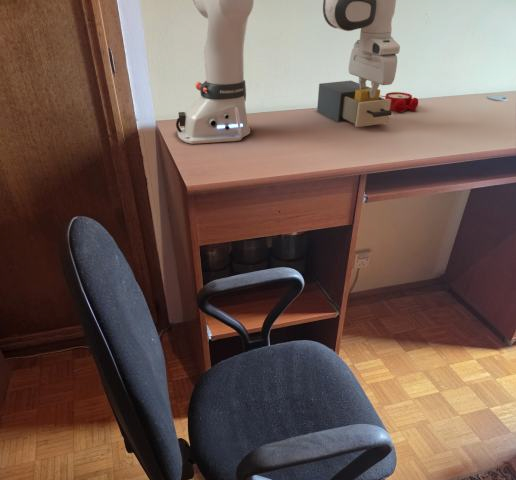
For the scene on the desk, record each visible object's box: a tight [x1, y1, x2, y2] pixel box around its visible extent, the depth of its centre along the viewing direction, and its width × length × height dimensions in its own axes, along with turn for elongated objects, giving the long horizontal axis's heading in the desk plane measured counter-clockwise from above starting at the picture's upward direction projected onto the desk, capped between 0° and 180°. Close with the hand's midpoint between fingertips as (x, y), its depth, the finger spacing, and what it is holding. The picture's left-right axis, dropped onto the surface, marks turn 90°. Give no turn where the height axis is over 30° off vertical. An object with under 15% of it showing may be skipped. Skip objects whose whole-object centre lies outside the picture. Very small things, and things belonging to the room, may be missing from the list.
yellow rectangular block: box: [354, 87, 381, 102], centre depth 141 cm, size 7×3×3 cm, turn 113°
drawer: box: [340, 94, 393, 128], centre depth 143 cm, size 18×11×7 cm, turn 23°
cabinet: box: [316, 80, 371, 123], centre depth 153 cm, size 15×13×9 cm
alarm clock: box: [381, 91, 419, 114], centre depth 159 cm, size 10×6×15 cm
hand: (367, 95), depth 141 cm, fingers closed on yellow rectangular block, 3 cm apart
